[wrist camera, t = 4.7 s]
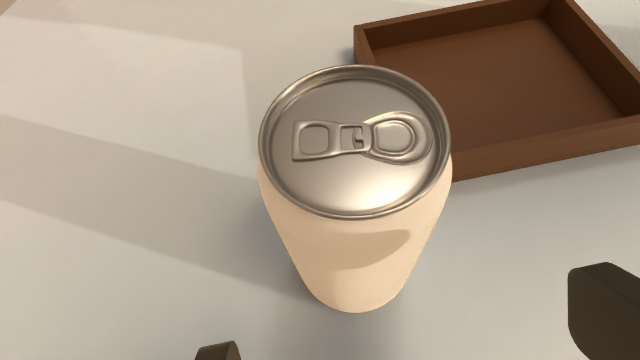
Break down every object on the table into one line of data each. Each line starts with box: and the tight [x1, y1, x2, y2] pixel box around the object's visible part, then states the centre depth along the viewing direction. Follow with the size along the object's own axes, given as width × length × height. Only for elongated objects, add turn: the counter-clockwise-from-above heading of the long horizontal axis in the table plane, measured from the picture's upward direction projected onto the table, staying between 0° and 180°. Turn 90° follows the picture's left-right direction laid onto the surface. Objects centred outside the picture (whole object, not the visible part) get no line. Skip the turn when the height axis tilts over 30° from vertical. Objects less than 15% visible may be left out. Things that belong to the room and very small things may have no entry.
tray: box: [354, 0, 640, 183], centre depth 25 cm, size 16×13×3 cm
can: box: [258, 64, 452, 313], centre depth 16 cm, size 6×6×12 cm
